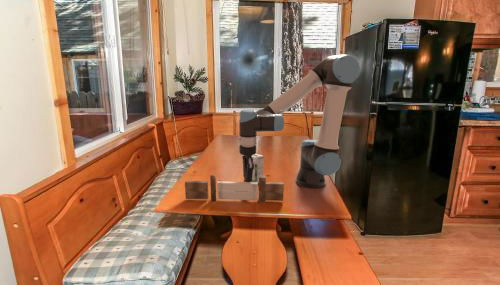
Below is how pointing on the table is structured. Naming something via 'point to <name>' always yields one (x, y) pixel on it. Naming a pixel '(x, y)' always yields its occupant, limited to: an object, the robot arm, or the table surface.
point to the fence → (200, 189)
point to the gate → (237, 190)
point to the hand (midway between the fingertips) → (247, 193)
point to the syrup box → (257, 167)
